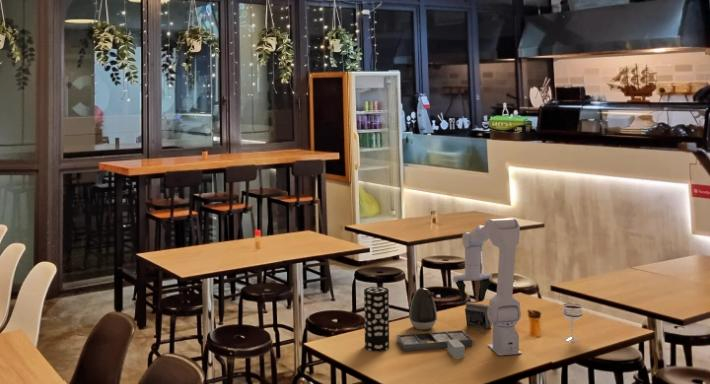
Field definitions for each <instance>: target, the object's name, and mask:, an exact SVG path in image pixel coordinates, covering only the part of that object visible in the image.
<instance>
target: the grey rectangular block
mask: <svg viewBox="0 0 710 384" xmlns="http://www.w3.org/2000/svg"><path fill="white" fill-rule="evenodd" d="M446 349H447V350H446V351H447V353H449V355H450V354H451V355H452V356H453V357H452V356H451V355H450V356H451V357H452V358H453V359H455V360H456V359H457V358H459V359H465V357H466V353H465V352H466V347H465V346H464V345H463V344H462V343H461V342H460V341H459V340H458V339H454V340H447V348H446ZM457 360H458V359H457Z"/></svg>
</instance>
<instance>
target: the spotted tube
mask: <svg viewBox="0 0 710 384" xmlns="http://www.w3.org/2000/svg"><path fill="white" fill-rule="evenodd" d="M389 291H390V290H389V288H387V287H383V286H371V287H370V286H369V287H366V288H365V289H363V302H364V303H363V304H364V305H363V306H364V307H363V309H364V310H363V311H364V313H363V314H364V316H363V317H364V349H365V348H366V350H367V351H370V352H378V351H379V352H384V351H387V350H389V349H390V304H389V303H390V297H389V296H390V295H389V294H390V292H389Z"/></svg>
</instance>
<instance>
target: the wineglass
mask: <svg viewBox="0 0 710 384" xmlns="http://www.w3.org/2000/svg"><path fill="white" fill-rule="evenodd" d="M562 307H563V308H562V314H563V315H562V316H564V318H565V319H567V320H568V321H569V322H570V330H571V332H570V336H566V337H564V340H565V341H567V342H572V343H578V342H580V339H579V338H577V337H575V336H573V333H574V323H575V322H576V321H579V320H580V319H581V318H582V316H583V315H584V311H583V307H584V306H583V305H582V304H579V303H575V302H574V303H573V302H567V303H563V304H562Z"/></svg>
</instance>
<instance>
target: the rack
mask: <svg viewBox="0 0 710 384" xmlns="http://www.w3.org/2000/svg"><path fill="white" fill-rule="evenodd" d="M454 339H458V340H459V341H460V342H461V343H462V344H463V345H464V346H465V348H466V347H467V348H468V347H473V341H474V340H473V338H471V337H470V335H468V334H467V333H466V331H464V330H463V329H461V330H446V331H432V332H425V331H424V332H417V333H408V334H407V333H405V334H397V335H396V342H397V344H398V345H399V346H400V347H401V350H402V351H403V352H404V353H405V352H415V351H416V352H417V351H427V350H429V351H430V350H441V349H442V350H443V349H447V340H454Z"/></svg>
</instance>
